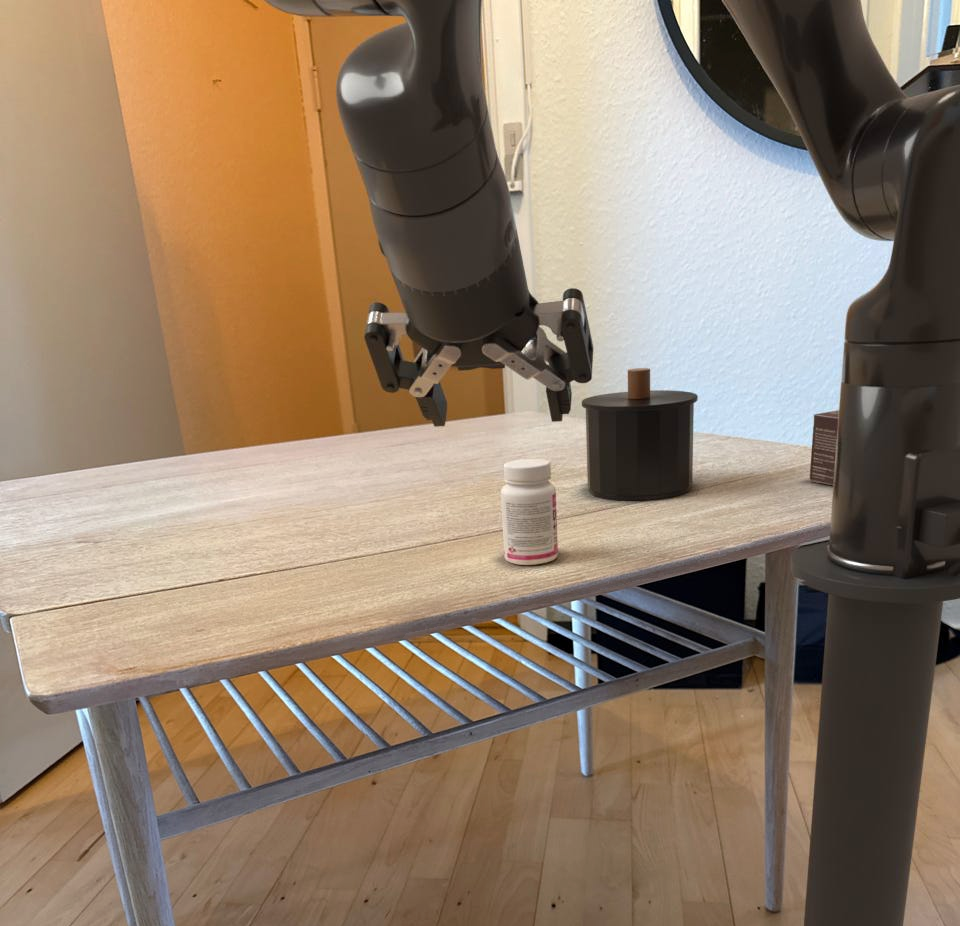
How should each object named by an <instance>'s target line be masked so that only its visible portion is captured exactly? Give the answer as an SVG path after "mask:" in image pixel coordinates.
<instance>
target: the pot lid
mask: <svg viewBox="0 0 960 926" xmlns="http://www.w3.org/2000/svg"><path fill="white" fill-rule="evenodd" d="M698 397H699V396H698V394H697V393H695V392H692V391H684V390H667V389H665V390H663V389H661V390H660V389H659V390H656V389H655V390H654V389H653V390H652V389H651V368H649V367H638V368H630V369H627V391H619V392H611V393H603V394H598V395H592V396H589V397H585V398H584V399H582V400H581V406H582V408H583V409H585V410H586V409H591V410H599V411H644V410H658V409H667V408H674V407H680V406H685V405H689V404H692V403H694V404H695V403H696V402H697V401H698V400H699V399H698Z"/></svg>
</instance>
